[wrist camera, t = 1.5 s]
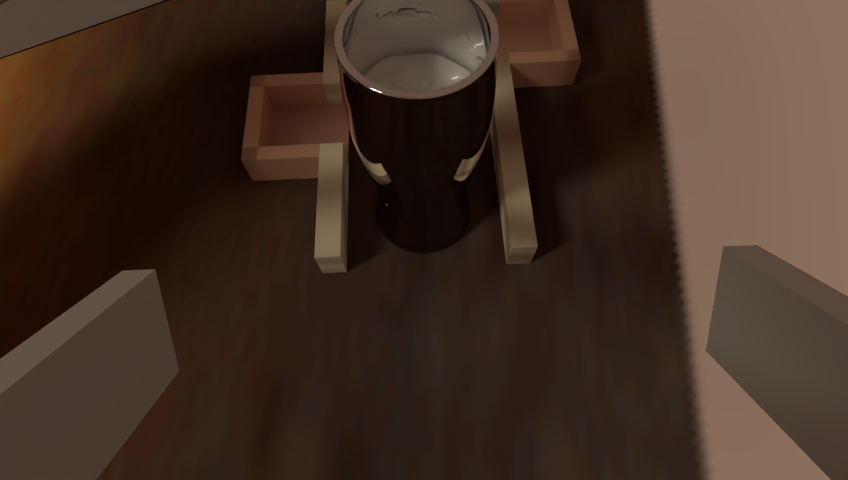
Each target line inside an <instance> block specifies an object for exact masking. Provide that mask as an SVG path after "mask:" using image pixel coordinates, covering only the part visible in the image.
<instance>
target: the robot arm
mask: <svg viewBox="0 0 848 480" xmlns="http://www.w3.org/2000/svg"><path fill="white" fill-rule="evenodd" d="M706 351H707V352H708V353H709V354H710V355H711V356H712V357H713V358H714V359H715V361H716V362H717V363H718V364H719V365H720V366H721V367H722V368H723V369H724V370H725V371H726V372H727V373H728V374H729V375H730V376H731V377H732V378H733V379H734V380H735V381H736V382H737V383H738V384H739V385H740V386H741V387H742V388H743V389H744V390H745V391H746V393H748V395H749V396H750V397H751V398H752V399H753V400H754V401H755V402H756V403H757V404H758V405H759V406H760V407H761V408H762V409H763V410H764V411H765V412H766V413H767V414H768V415H769V416H770V417H771V418H772V419H773V420H774V421H775V422H776V423H777V424H778V425H779V427H780V428H781V429H782V430H783V431H784V432H785V433H786V434H788V436H789V437H790V438H791V439H792V440H793V441H794V442H795V443H796V444H797V445H798V446H799V447H800V448H801V449H802V450H803V451H804V452H805V453H806V454H807V455H808V456H809V457H810V458H811V459H812V461H813V462H815V464H816V465H817V466H818V467H819V468H820V469H821V470H822V471H823V472H824V473H825V474H826V475H827V476H828V477H829V478H830V479H831V480H848V296H846V295H844V294H842V293H840V292H839V291H837V290H835V289H833V288H831V287H830V286H828V285H826V284H825V283H823V282H821V281H819V280H817V279H816V278H813V277H812V276H810V275H809V274H807V273H805V272H803V271H801V270H800V269H798V268H796V267H794V266H792V265H791V264H789V263H787V262H785V261H784V260H782V259H780V258H778V257H777V256H775V255H773V254H771V253H769V252H768V251H766V250H764V249H762V248H761V247H758V246H757V245H755V246H754V245H753V246H728V247H723V252H722V258H721V264H720V270H719V276H718V282H717V288H716V294H715V300H714V306H713V312H712V318H711V324H710V330H709V336H708V342H707V348H706ZM178 372H179V368H178V364H177V360H176V356H175V351H174V347H173V343H172V339H171V334H170V330H169V326H168V322H167V317H166V313H165V309H164V305H163V300H162V296H161V292H160V288H159V283H158V279H157V275H156V270H155V269H151V270H126V271H121V272H120V273H118V274H117V275H116V276H114V277H113V278H111V279H110V280H109V281H107V282H106V283H105V284H103V285H102V286H100V287H99V288H98V289H96V290H95V291H93V292H92V293H91V294H89V295H88V296H87V297H85V298H84V299H82V300H81V301H80V302H78V303H77V304H75V305H74V306H73V307H71V308H70V309H69V310H67V311H66V312H64V313H63V314H62V315H60V316H59V317H57V318H56V319H55V320H53V321H52V322H51V323H49V324H48V325H46V326H45V327H44V328H42V329H41V330H39V331H38V332H37V333H35V334H34V335H33V336H31V337H30V338H28V339H27V340H26V341H24V342H23V343H21V344H20V345H19V346H17V347H16V348H15V349H13V350H12V351H10V352H9V353H8V354H6V355H5V356H3V357H2V358H1V359H0V480H96V479H97V478H98V477H99V475H100V474H101V473H102V471H103V470H104V469H105V467H106V466H107V465H108V463H109V462H110V461H111V460H112V458H113V457H114V456H115V454H116V453H117V452H118V450H119V449H120V448H121V446H122V445H123V444H124V442H125V441H126V440H127V439H128V437H129V436H130V435H131V433H132V432H133V431H134V429H135V428H136V427H137V425H138V424H139V423H140V422H141V420H142V419H143V418H144V416H145V415H146V414H147V412H148V411H149V410H150V408H151V407H152V406H153V405H154V403H155V402H156V401H157V399H158V398H159V397H160V395H161V394H162V393H163V391H164V390H165V389H166V388H167V386H168V385H169V384H170V382H171V381H172V380H173V378H174V377H175V376H176V374H177V373H178Z"/></svg>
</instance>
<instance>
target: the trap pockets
mask: <svg viewBox="0 0 848 480" xmlns="http://www.w3.org/2000/svg"><path fill="white" fill-rule="evenodd" d="M497 24H498V28H499V46H498V53H508V55H509V62H510V68H511V75H512V81H513V88H521V87H542V86H563V85H573V82H574V80H575V77H576V74H577V71H578V68H579V65H580V63H581V56H580V52H579V48H578V43H577V39H576V35H575V30H574V26H573V22H572V17H571V13H570V9H569V4H568V0H500V9H499V16H498V23H497ZM324 143H343V144H344V148H345V152H346V156H347V159H348V163H349V127H348V124H347V120H346V116H345V111H344V106H343V104H331V105H329V104H328V101H327V97H326V94H325V90H324V86H323V72H320V73H299V74H277V75H256V76H251V82H250V90H249V98H248V106H247V114H246V123H245V131H244V139H243V147H242V155H241V162H242V163H243V165H244V166H245V168H246V170H247V171H248V173H249V175H250V176H251V178H252V180H253V181H263V180H284V179H305V178H318V172H319V150H320V144H324Z"/></svg>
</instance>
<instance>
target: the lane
mask: <svg viewBox="0 0 848 480" xmlns="http://www.w3.org/2000/svg"><path fill="white" fill-rule="evenodd" d="M351 1H352V0H327V3H326V24H325V45H324V66H323V86H324V90H325V94H326V97H327V101H328V104H329V105H331V104H343V101H342V95H341V88H340V80H339V71H338V62H337V55H336V52H335V47H334V33H335V28H336V24H337V22H338V19H339V17H340V15H341V14H342V12H343V11H344V9H345V8H346V7H347V5H348V4H349V3H350V2H351ZM483 1H484V2H485V3H486V4H487V5H488V6H489V8H490V9H491V11H492V12H493V14H494V16H495V18H496V21H497V23H498V16H499V9H500V0H483ZM490 134H491V142H492V150H493V158H494V167H495V175H496V183H497V191H498V199H499V207H500V216H501V224H502V232H503V240H504V248H505V256H506V264H521V263H531V261H532V258H533V256H534V254H535V252H536V249H537V247H538V245H537V239H536V232H535V226H534V219H533V213H532V206H531V199H530V193H529V186H528V180H527V173H526V167H525V160H524V154H523V147H522V140H521V134H520V127H519V121H518V114H517V108H516V101H515V94H514V88H513V81H512V75H511V68H510V62H509V55H508V53H497V78H496V93H495V102H494V111H493V116H492V121H491V125H490ZM348 179H349V163H348V159H347V156H346V152H345V148H344V144H343V143H324V144H320V150H319V172H318V193H317V214H316V235H315V256H314V258H315V260H316V261H317V263H318V265H319V267H320V269H321V271H322V273H337V272H347V234H348Z"/></svg>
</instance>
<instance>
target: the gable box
mask: <svg viewBox="0 0 848 480" xmlns="http://www.w3.org/2000/svg"><path fill="white" fill-rule="evenodd" d="M162 1H165V0H0V58H1V57H4V56H7V55H10V54H13V53H16V52H19V51H22V50H24V49H27V48H30V47H33V46H36V45H39V44H42V43H44V42H47V41H50V40H53V39H56V38H59V37H62V36H65V35H67V34H70V33H73V32H76V31H79V30H82V29H85V28H88V27H90V26H93V25H96V24H99V23H102V22H105V21H108V20H111V19H113V18H116V17H119V16H122V15H125V14H128V13H131V12H133V11H136V10H139V9H142V8H145V7H148V6H151V5H154V4H156V3H159V2H162Z"/></svg>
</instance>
